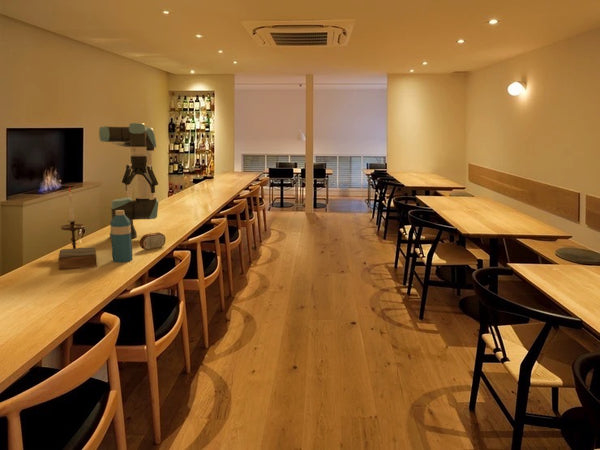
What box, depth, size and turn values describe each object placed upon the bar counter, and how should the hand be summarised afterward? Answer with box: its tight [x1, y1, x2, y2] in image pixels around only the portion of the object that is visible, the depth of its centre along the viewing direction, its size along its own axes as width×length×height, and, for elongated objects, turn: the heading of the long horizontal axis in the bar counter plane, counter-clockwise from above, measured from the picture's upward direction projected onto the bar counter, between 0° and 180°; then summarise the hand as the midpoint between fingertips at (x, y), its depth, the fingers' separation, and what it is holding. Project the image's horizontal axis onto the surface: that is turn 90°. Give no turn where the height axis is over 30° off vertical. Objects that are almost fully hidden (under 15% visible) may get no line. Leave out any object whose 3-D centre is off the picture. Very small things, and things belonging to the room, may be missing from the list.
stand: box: [57, 246, 98, 271], centre depth 233 cm, size 16×16×6 cm
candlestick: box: [60, 186, 85, 249], centre depth 250 cm, size 11×11×35 cm
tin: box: [139, 232, 166, 251], centre depth 265 cm, size 15×3×8 cm, turn 141°
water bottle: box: [109, 210, 133, 264], centre depth 239 cm, size 9×9×25 cm
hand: (140, 198), depth 241 cm, fingers open, 13 cm apart
